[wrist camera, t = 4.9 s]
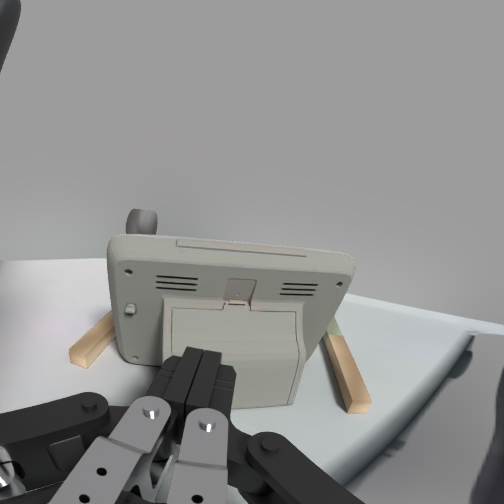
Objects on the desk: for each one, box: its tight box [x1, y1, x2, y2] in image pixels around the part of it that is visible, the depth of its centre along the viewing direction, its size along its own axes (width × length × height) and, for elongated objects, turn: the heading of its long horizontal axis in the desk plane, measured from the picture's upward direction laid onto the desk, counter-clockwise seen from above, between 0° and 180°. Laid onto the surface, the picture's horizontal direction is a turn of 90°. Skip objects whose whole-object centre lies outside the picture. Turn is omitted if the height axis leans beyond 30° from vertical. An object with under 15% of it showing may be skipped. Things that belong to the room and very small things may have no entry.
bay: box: [69, 209, 372, 413], centre depth 27 cm, size 24×20×10 cm
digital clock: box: [107, 234, 355, 409], centre depth 20 cm, size 16×9×11 cm, turn 92°
